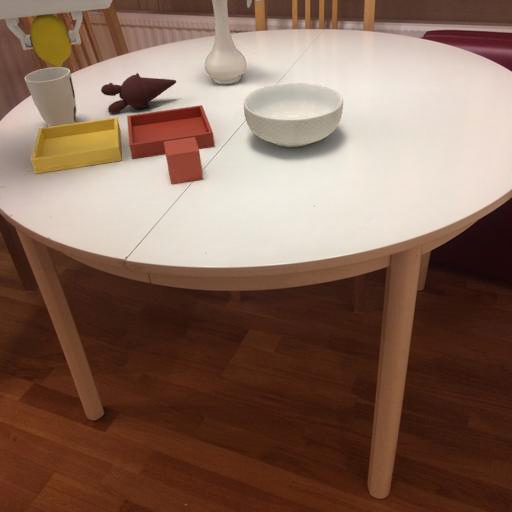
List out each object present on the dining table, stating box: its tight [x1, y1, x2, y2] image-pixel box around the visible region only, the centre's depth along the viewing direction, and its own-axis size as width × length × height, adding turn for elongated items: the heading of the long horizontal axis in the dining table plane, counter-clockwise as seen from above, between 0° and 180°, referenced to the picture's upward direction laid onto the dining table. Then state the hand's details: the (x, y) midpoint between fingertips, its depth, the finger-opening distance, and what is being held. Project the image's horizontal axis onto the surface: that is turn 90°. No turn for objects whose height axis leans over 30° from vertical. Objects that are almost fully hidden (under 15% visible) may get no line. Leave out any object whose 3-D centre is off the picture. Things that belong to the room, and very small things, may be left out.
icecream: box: [100, 72, 177, 115], centre depth 106 cm, size 7×7×15 cm
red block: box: [164, 137, 204, 185], centre depth 82 cm, size 5×5×5 cm
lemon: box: [29, 14, 72, 67], centre depth 78 cm, size 6×6×8 cm
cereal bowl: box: [243, 82, 344, 148], centre depth 90 cm, size 17×17×7 cm
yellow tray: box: [30, 116, 123, 175], centre depth 92 cm, size 14×13×3 cm
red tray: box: [126, 104, 216, 160], centre depth 95 cm, size 14×13×3 cm
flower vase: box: [204, 0, 261, 85], centre depth 110 cm, size 13×18×25 cm
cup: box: [24, 66, 77, 127], centre depth 100 cm, size 8×8×10 cm
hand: (52, 46), depth 79 cm, fingers closed on lemon, 5 cm apart
